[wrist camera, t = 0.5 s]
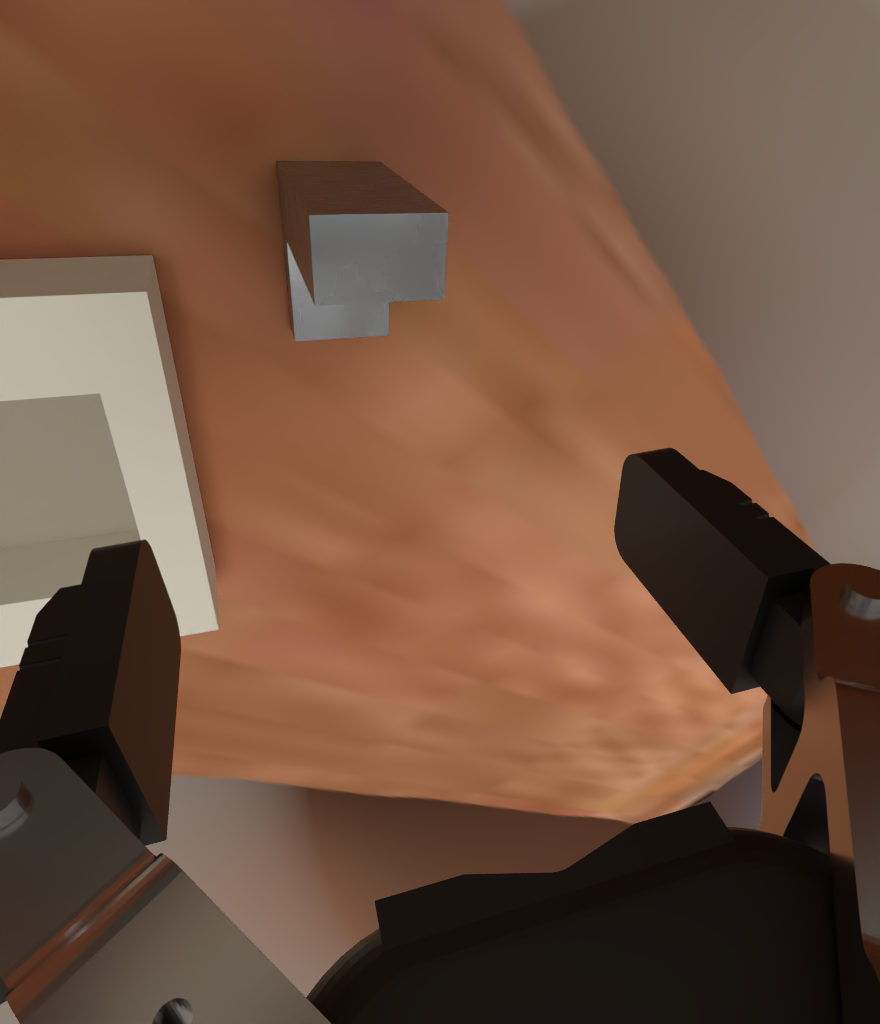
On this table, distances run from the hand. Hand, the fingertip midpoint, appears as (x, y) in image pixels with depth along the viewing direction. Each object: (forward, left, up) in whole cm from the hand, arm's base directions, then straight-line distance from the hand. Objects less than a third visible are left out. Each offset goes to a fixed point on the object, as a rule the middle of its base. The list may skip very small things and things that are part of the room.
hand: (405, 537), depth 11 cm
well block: (+8, -11, -20) cm, 24 cm away
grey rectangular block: (0, +2, -20) cm, 20 cm away
